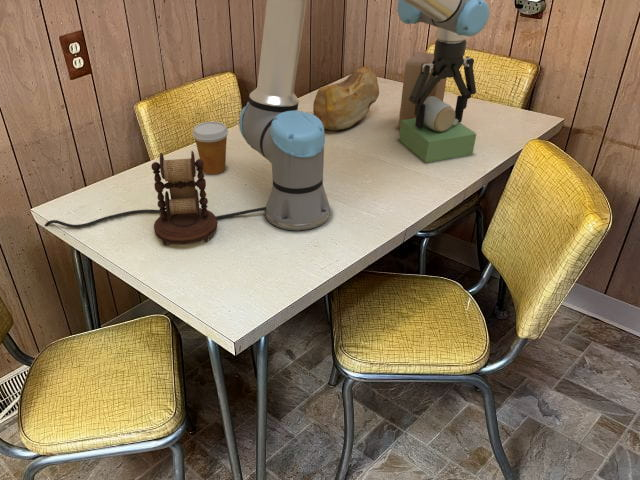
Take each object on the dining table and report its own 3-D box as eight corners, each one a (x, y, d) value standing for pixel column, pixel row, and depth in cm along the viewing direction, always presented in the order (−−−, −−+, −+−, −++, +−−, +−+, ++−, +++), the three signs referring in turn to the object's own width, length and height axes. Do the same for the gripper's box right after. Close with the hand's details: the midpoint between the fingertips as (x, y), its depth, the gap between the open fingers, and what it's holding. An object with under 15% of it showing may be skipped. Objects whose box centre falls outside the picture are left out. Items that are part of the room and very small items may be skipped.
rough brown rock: (347, 105, 196) (345, 58, 187) (385, 114, 185) (386, 64, 176) (295, 127, 186) (291, 79, 177) (333, 138, 175) (331, 87, 166)
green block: (425, 162, 158) (428, 141, 155) (398, 140, 171) (401, 120, 167) (472, 154, 161) (476, 133, 157) (442, 132, 173) (445, 112, 169)
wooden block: (440, 122, 178) (451, 54, 166) (429, 135, 172) (440, 64, 160) (408, 117, 183) (416, 50, 170) (396, 129, 177) (404, 60, 164)
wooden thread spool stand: (218, 214, 143) (210, 136, 131) (217, 247, 132) (209, 166, 119) (158, 218, 144) (145, 141, 131) (152, 252, 132) (137, 170, 120)
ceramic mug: (433, 136, 157) (438, 107, 152) (413, 126, 163) (417, 98, 158) (464, 128, 160) (470, 100, 156) (444, 118, 166) (449, 91, 161)
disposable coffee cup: (238, 167, 163) (235, 126, 155) (213, 180, 158) (209, 138, 150) (213, 158, 168) (210, 118, 161) (189, 171, 163) (184, 129, 155)
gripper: (415, 49, 143) (405, 135, 157) (501, 37, 147) (484, 122, 160) (401, 41, 149) (392, 125, 162) (484, 29, 152) (469, 112, 166)
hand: (438, 123), depth 161 cm, fingers closed on ceramic mug, 11 cm apart
